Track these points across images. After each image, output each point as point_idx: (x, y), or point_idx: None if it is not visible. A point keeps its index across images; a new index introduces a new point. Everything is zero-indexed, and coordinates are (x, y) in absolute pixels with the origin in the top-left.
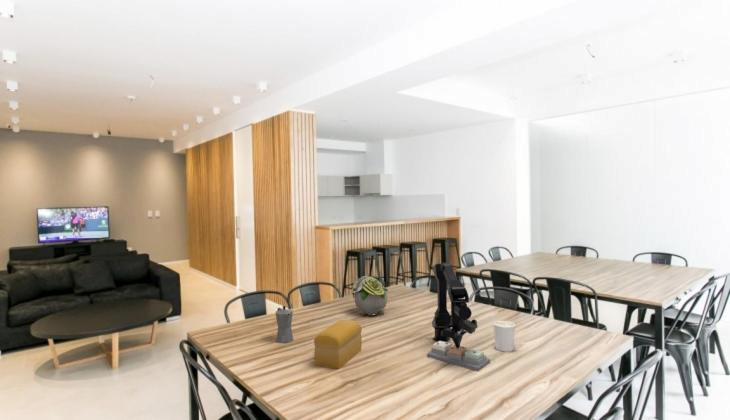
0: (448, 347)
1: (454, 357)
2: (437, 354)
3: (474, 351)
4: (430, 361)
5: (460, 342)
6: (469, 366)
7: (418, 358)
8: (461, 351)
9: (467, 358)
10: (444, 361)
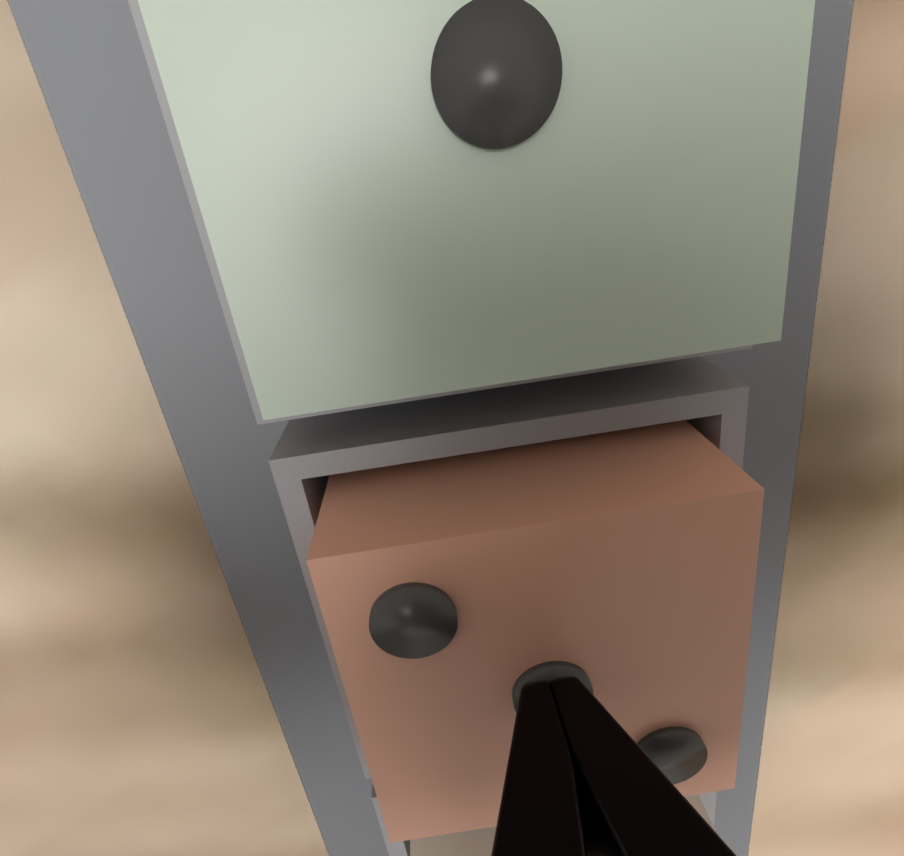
0: None
1: None
2: None
3: (456, 94)
4: (853, 696)
5: (519, 834)
6: (830, 17)
7: (842, 820)
8: (696, 490)
9: None
10: None
